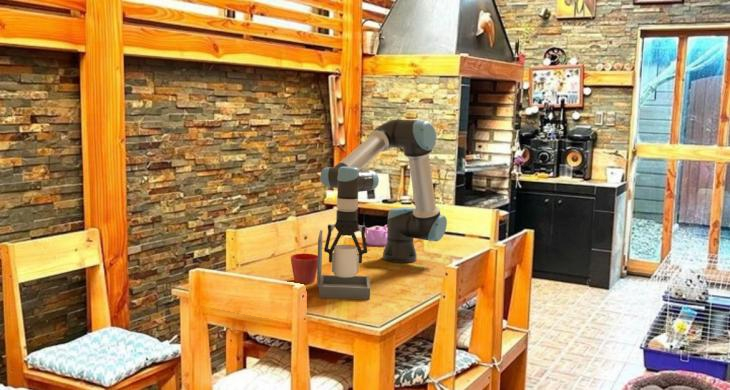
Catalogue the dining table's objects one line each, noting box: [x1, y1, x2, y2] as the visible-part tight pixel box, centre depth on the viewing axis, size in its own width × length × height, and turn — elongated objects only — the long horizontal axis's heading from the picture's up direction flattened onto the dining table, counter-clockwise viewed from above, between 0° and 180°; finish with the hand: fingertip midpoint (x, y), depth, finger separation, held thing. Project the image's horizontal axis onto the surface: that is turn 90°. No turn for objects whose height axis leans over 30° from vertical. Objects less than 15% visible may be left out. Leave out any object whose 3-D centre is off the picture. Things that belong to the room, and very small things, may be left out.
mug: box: [333, 244, 358, 278], centre depth 255 cm, size 12×8×10 cm
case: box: [316, 229, 371, 300], centre depth 256 cm, size 19×19×21 cm
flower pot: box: [290, 252, 318, 284], centre depth 269 cm, size 11×11×10 cm
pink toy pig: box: [365, 224, 388, 247], centre depth 344 cm, size 12×14×9 cm
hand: (345, 271), depth 255 cm, fingers closed on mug, 8 cm apart
